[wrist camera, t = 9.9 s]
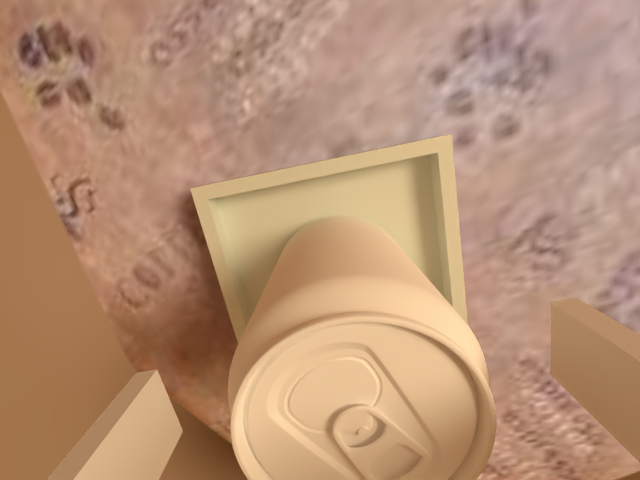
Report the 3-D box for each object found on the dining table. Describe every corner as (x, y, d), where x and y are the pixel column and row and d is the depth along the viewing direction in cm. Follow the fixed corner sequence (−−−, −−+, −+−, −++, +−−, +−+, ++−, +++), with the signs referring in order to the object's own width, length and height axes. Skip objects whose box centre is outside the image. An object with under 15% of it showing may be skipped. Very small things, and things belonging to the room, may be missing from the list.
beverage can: (350, 186, 18) (395, 229, 7) (427, 282, 20) (573, 456, 8) (252, 266, 20) (148, 417, 8) (331, 351, 21) (338, 582, 10)
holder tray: (203, 185, 19) (190, 188, 17) (438, 136, 18) (451, 133, 16) (261, 379, 23) (255, 399, 21) (458, 347, 22) (471, 365, 20)
